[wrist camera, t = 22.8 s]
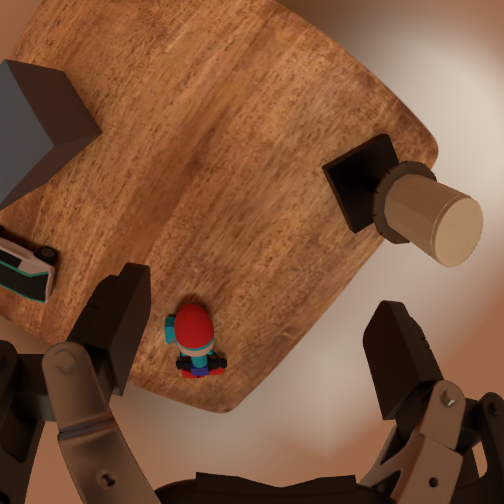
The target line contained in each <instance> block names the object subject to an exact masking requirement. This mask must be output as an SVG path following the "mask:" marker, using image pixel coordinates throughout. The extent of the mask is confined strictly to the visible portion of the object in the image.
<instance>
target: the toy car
mask: <svg viewBox="0 0 504 504" xmlns="http://www.w3.org/2000/svg"><path fill="white" fill-rule="evenodd" d="M1 236H2V227H1V226H0V285H1V286H3V287H5V288H7V289H9V290H11V291H13V292H15V293H17V294H19V295H21V296H23V297H25V298H28V299H31V300H34V301H38V302H41V303H46V302H47V301H49V299H50V296H51V294H52V291H53V285H54V278H55V272H56V268H54V267H53V265H55V264H56V262H57V260H58V253H57V252H56V251H55V250H54V249H52V248H50V247H41V248H39V249H38V251H37V254H35V253H34V251H32V250H29V249H27V248H25V247H23V246H20V245H18V244H16V243H14V242H12V241H10V240H7V239H6V240H5V238H4V239H3V237H1ZM35 255H36V257H35Z"/></svg>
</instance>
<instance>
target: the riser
mask: <svg viewBox="0 0 504 504" xmlns="http://www.w3.org/2000/svg"><path fill="white" fill-rule="evenodd" d="M101 134H102V132H101V130H100V129H99V127H98V126H97V124H96V123H95V121H94V120H93V118H92V117H91V115H90V114H89V112H88V110H87V109H86V107H85V106H84V104H83V103H82V101H81V99H80V98H79V96H78V95H77V93H76V91H75V90H74V88H73V87H72V85H71V83H70V82H69V80H68V78H67V77H66V75H65V74H64V72H63V71H59V70H55V69H51V68H46V67H42V66H37V65H33V64H28V63H23V62H18V61H13V60H7V59H5V60H4V61H3V62H2V63H1V64H0V211H1V210H2V209H4V208H5V207H7V206H8V205H10V204H12V203H13V202H15V201H16V200H18V199H19V198H21V197H23V196H24V195H26V194H28V193H29V192H31V191H33V190H34V189H36V188H38V187H40V186H41V185H43V184H45V183H46V182H47V181H48V180H49V179H50V178H51V177H52V176H54V175H55V174H56V173H57V172H58V171H59V170H60V169H61V168H62V167H63V166H64V165H65V164H66V163H68V162H69V161H70V160H71V159H72V158H73V157H74V156H76V155H77V154H78V153H79V152H80V151H81V150H82V149H84V148H85V147H86V146H87V145H88V144H90V143H91V142H92V141H93V140H95V139H96V138H97V137H98V136H99V135H101Z"/></svg>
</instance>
